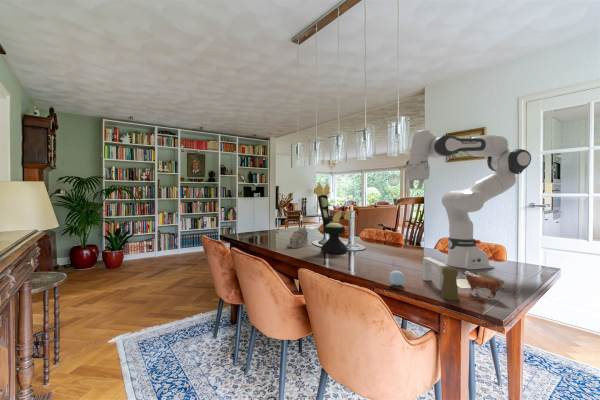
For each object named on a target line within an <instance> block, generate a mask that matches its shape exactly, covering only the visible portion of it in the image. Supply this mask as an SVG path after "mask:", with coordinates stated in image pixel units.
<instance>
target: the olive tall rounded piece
mask: <svg viewBox="0 0 600 400" xmlns="http://www.w3.org/2000/svg"><path fill="white" fill-rule="evenodd" d="M442 273H443V275H444V278H443V284H442V290H440V291H441V292H440V297H441V299H444V300H447V301H448V300H449V301H457V300H458V301H459V299H460V297H459V290H458V289H459V287H457V280H456V279H457V277H458V274H459V271H458V269H457V267H453V266H448V267H444V268H443V269H442Z"/></svg>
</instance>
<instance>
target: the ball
mask: <svg viewBox="0 0 600 400" xmlns="http://www.w3.org/2000/svg"><path fill="white" fill-rule="evenodd" d="M388 276H389V282H390V283H391V284H392V285H394V286H402V285H403V284H404V282H405V275H404V273H403V272H401V271H399V270H392V271H391V272H390V273H389V275H388Z"/></svg>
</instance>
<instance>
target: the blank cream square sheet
mask: <svg viewBox="0 0 600 400" xmlns="http://www.w3.org/2000/svg"><path fill="white" fill-rule="evenodd" d="M456 280H457V288H458V289H461V290H462V289H463V290H464V289H469V290H470V289H471V287H470V285H469V284H468V281H467V280H466V278H456Z"/></svg>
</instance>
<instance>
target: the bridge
mask: <svg viewBox="0 0 600 400" xmlns="http://www.w3.org/2000/svg"><path fill="white" fill-rule="evenodd" d="M433 266H434V267H437V290H438V291H441V290H442V284H443V278H444V275H443V273H442V269H443V268H444V267H449V265H447V264H445V263H443V262H441V261H438V260H437V259H434V258H432V257H430V256H426V257H424V256H422V280H423V281H426V282H427V281H432V275H433V274H432V272H433V271H432V267H433Z"/></svg>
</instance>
